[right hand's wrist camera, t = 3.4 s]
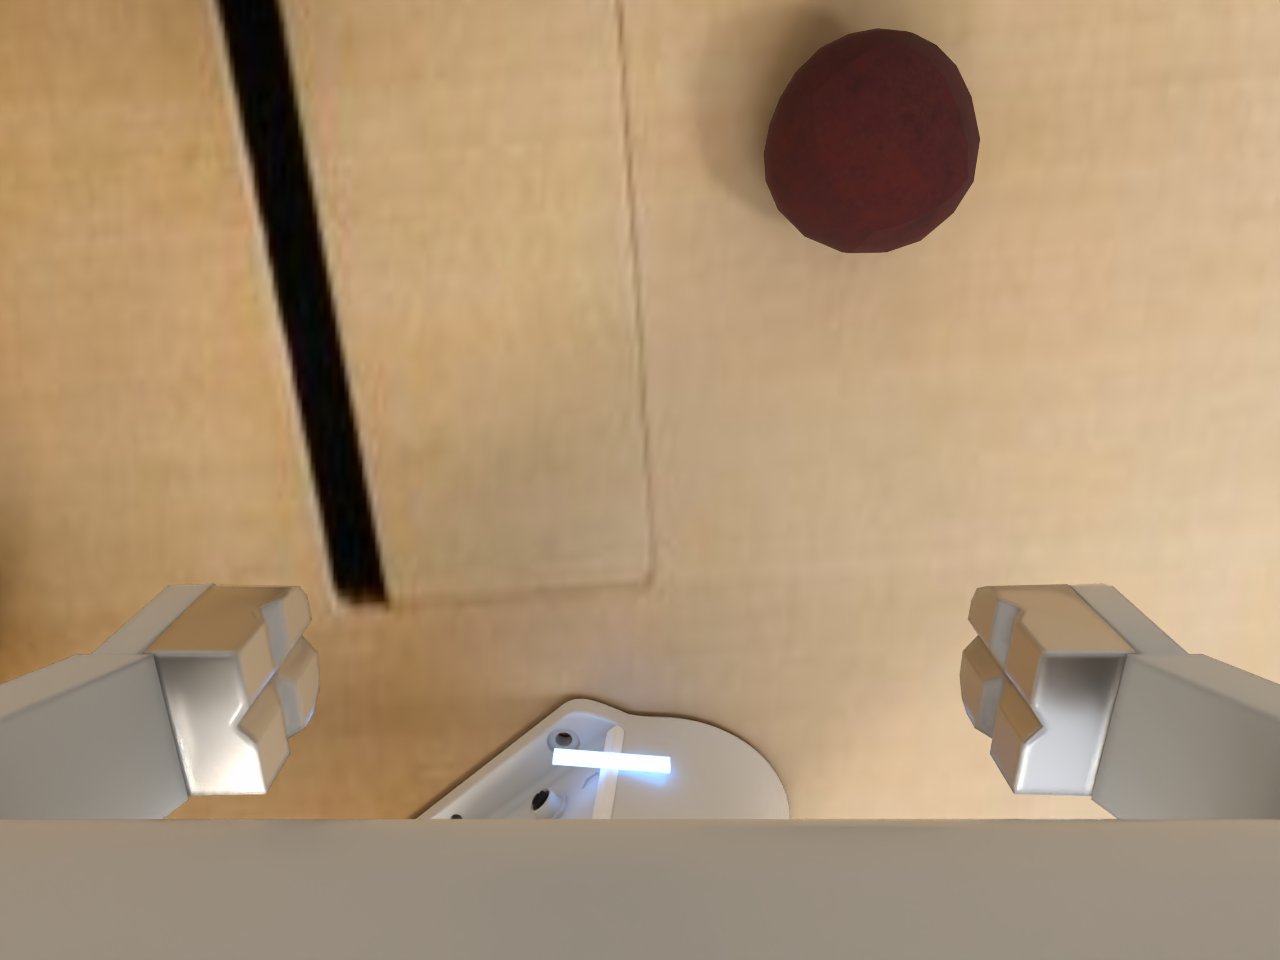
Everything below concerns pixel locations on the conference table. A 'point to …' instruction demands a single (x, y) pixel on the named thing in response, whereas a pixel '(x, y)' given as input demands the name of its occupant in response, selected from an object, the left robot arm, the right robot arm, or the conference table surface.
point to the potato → (872, 142)
